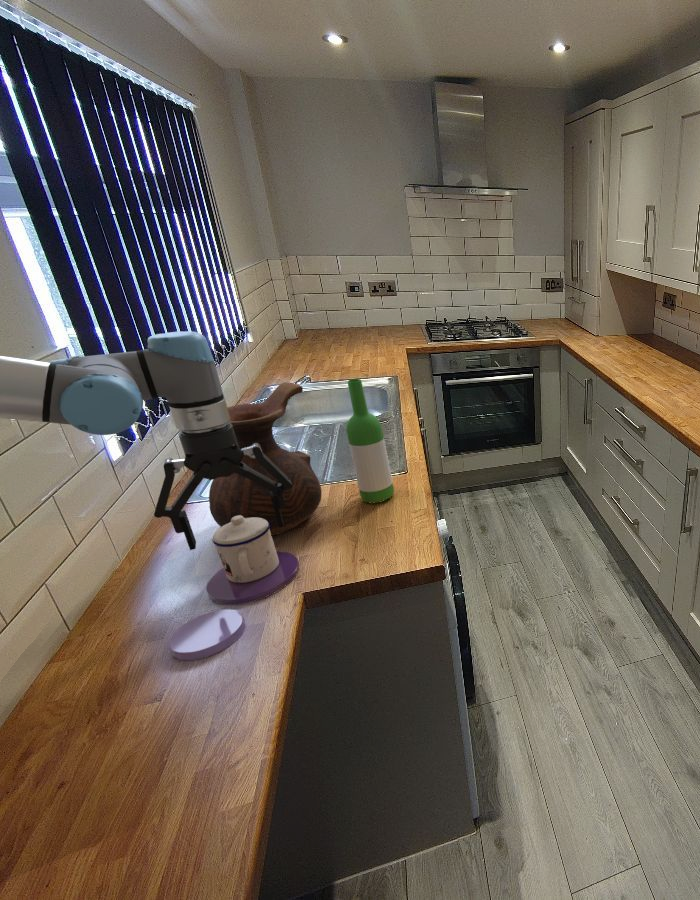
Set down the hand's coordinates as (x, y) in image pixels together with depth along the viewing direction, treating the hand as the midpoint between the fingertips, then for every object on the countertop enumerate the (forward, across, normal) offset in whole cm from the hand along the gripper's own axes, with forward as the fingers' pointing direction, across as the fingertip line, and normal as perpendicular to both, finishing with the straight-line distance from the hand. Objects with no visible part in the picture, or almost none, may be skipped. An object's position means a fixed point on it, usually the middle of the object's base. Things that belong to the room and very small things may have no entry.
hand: (238, 534), depth 96 cm
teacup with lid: (+9, 0, 0) cm, 9 cm away
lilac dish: (+10, -6, -14) cm, 18 cm away
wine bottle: (+10, +28, +21) cm, 36 cm away
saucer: (+10, 0, 0) cm, 10 cm away
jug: (+10, +6, +22) cm, 25 cm away
